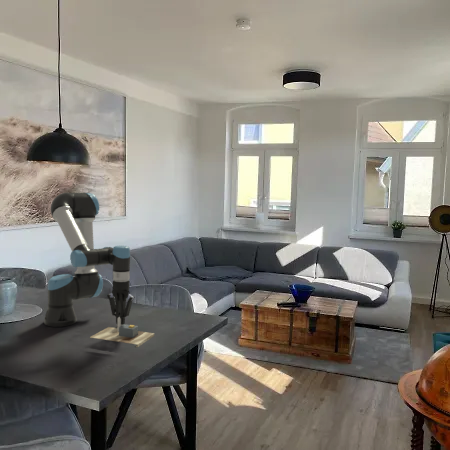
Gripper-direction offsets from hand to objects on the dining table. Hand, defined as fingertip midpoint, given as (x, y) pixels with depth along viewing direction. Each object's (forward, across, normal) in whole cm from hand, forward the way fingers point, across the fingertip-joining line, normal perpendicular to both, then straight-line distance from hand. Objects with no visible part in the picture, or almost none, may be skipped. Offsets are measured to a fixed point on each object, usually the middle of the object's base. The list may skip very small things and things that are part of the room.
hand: (120, 331), depth 211 cm
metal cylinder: (+3, -5, +9) cm, 11 cm away
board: (+3, +2, -1) cm, 3 cm away
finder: (+2, +4, 0) cm, 4 cm away
